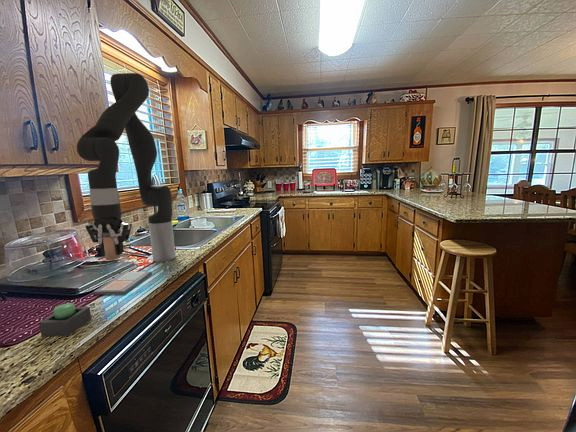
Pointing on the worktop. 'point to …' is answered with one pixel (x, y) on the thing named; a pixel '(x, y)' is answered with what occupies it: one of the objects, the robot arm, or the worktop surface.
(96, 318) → the worktop surface
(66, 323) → the button housing
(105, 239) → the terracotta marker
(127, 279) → the picture board
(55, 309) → the button
